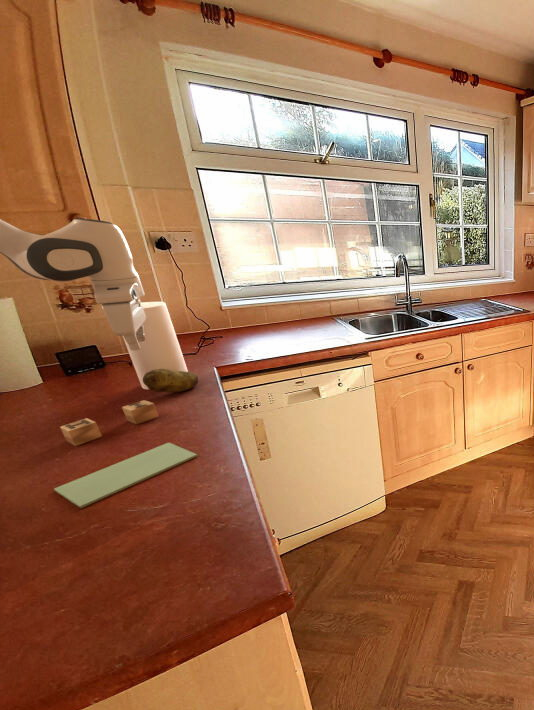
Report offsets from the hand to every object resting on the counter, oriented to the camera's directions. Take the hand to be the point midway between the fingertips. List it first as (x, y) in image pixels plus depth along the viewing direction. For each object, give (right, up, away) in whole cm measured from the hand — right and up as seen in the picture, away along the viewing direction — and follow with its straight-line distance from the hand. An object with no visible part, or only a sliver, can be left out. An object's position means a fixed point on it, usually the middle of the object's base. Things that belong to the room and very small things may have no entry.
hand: (139, 345), depth 107 cm
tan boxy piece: (-3, -19, +5) cm, 20 cm away
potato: (-8, -12, +22) cm, 26 cm away
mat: (+15, -28, -19) cm, 38 cm away
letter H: (-9, -23, -5) cm, 25 cm away
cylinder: (-17, -9, +29) cm, 35 cm away
